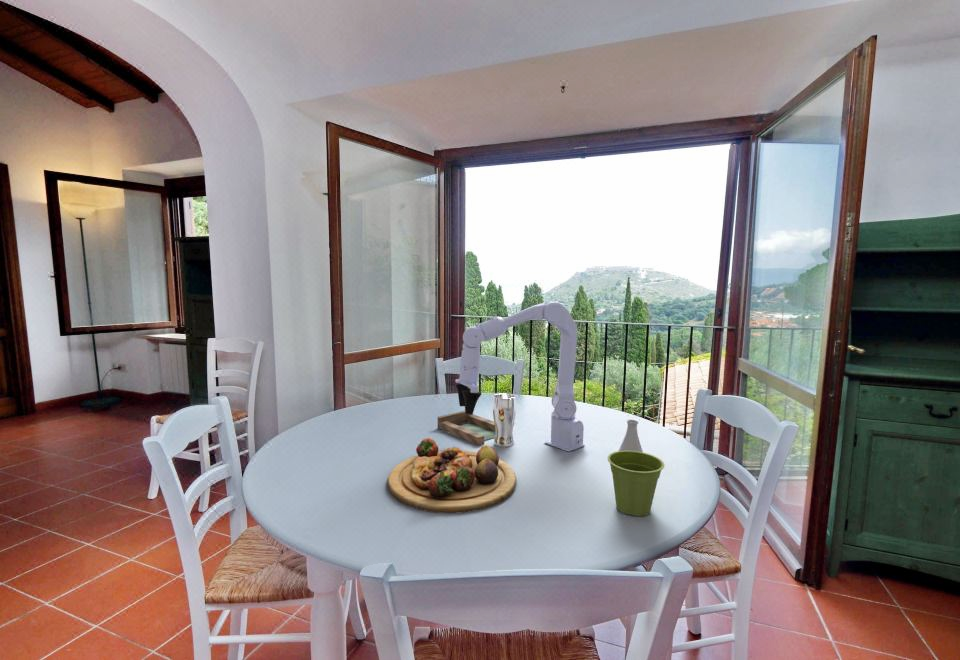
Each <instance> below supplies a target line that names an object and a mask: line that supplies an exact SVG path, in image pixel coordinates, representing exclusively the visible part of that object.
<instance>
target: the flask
mask: <svg viewBox="0 0 960 660" xmlns="http://www.w3.org/2000/svg"><path fill="white" fill-rule="evenodd" d="M626 423H627V427H626V432H625V435H624V437H623V439H622V442H621V444H620V447H619V448H618V451H638V452H643V453H644V451H643V448H642V445H641V442H640V437H639V435H638V434H639V433H638V424H639V421H638V420H635V419H627V420H626Z"/></svg>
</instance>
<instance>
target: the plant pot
mask: <svg viewBox="0 0 960 660" xmlns="http://www.w3.org/2000/svg"><path fill="white" fill-rule="evenodd" d="M607 461H608V462H609V465H610V471H611V474H612V480H613V489H614V499H615V506H616V508H617V509H618V510H619V511H620V512H621V513H623V514H626V515H632V516H634V517H644V516H647V515H649V514H650V512H651V509H652V507H653V506H652V505H653V501H654V496H655V493H656V489H657V484H658V480H659V478H660V476H661V472H662V470H664V468H665V463H664V461H663V460H662V459H661V458H659V457H657V456H655V455H653V454H650V453H646V452H644V451H643V452H638V451H619V450H617V451H613V452H611V453H609V454H608V455H607Z"/></svg>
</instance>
